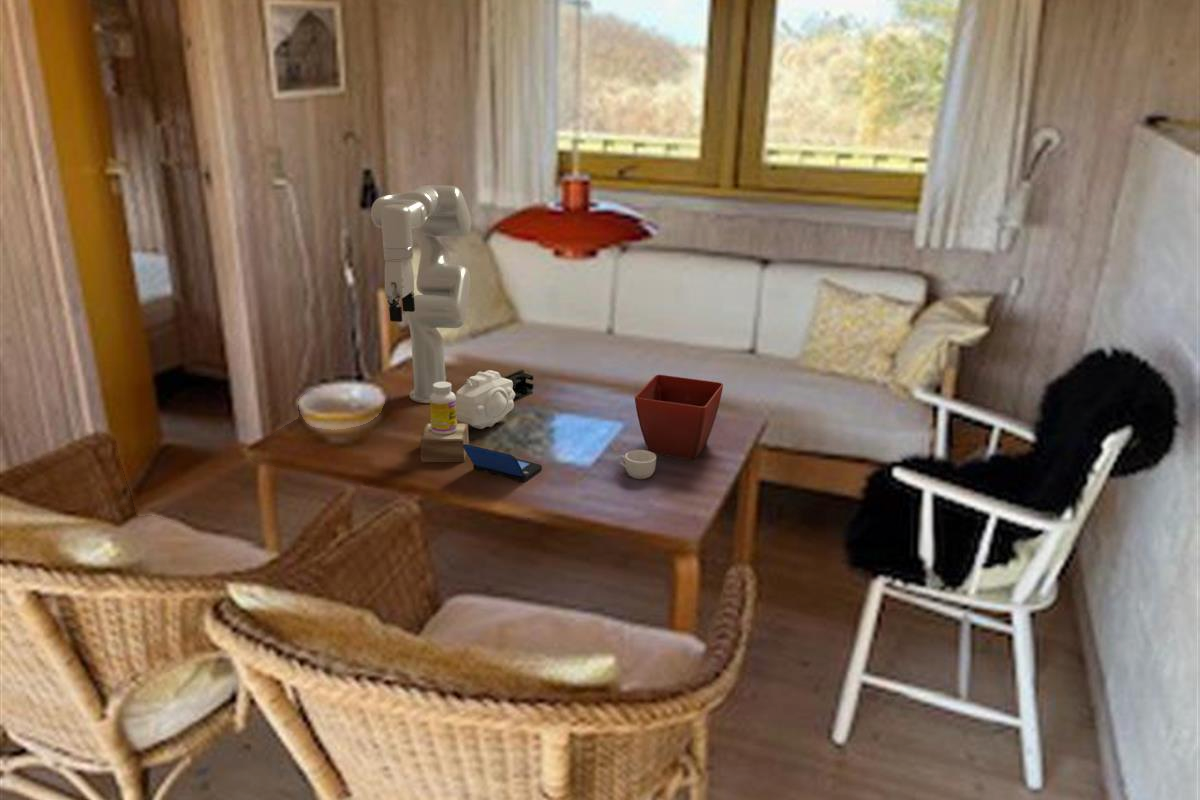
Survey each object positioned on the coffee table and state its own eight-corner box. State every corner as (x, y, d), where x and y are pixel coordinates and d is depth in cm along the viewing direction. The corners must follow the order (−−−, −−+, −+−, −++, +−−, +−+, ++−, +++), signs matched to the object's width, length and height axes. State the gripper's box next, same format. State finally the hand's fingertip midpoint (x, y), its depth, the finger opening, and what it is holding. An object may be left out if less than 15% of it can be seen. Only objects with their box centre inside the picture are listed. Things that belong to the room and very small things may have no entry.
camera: (450, 430, 257) (448, 376, 251) (495, 411, 271) (493, 360, 265) (479, 440, 251) (477, 385, 245) (523, 420, 264) (522, 368, 259)
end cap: (516, 388, 289) (516, 367, 287) (534, 392, 286) (534, 372, 283) (495, 397, 282) (495, 376, 279) (513, 402, 278) (513, 381, 275)
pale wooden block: (427, 444, 248) (426, 422, 246) (468, 444, 248) (467, 422, 246) (421, 461, 238) (420, 439, 236) (464, 461, 238) (463, 439, 236)
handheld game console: (544, 470, 235) (543, 436, 231) (515, 491, 224) (514, 456, 220) (493, 457, 242) (492, 424, 238) (462, 477, 231) (461, 443, 227)
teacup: (660, 472, 234) (661, 453, 232) (648, 484, 227) (649, 465, 225) (624, 464, 238) (624, 445, 236) (611, 476, 231) (612, 457, 229)
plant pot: (631, 456, 243) (633, 396, 237) (654, 429, 259) (656, 373, 253) (701, 468, 236) (705, 407, 230) (720, 440, 253) (724, 383, 247)
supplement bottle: (452, 436, 237) (449, 390, 233) (427, 434, 239) (424, 387, 234) (460, 426, 244) (458, 381, 239) (437, 424, 245) (434, 379, 240)
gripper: (396, 245, 249) (400, 306, 256) (372, 259, 234) (377, 324, 240) (423, 246, 248) (426, 308, 255) (400, 261, 232) (405, 326, 239)
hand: (402, 316), depth 247 cm, fingers open, 9 cm apart
